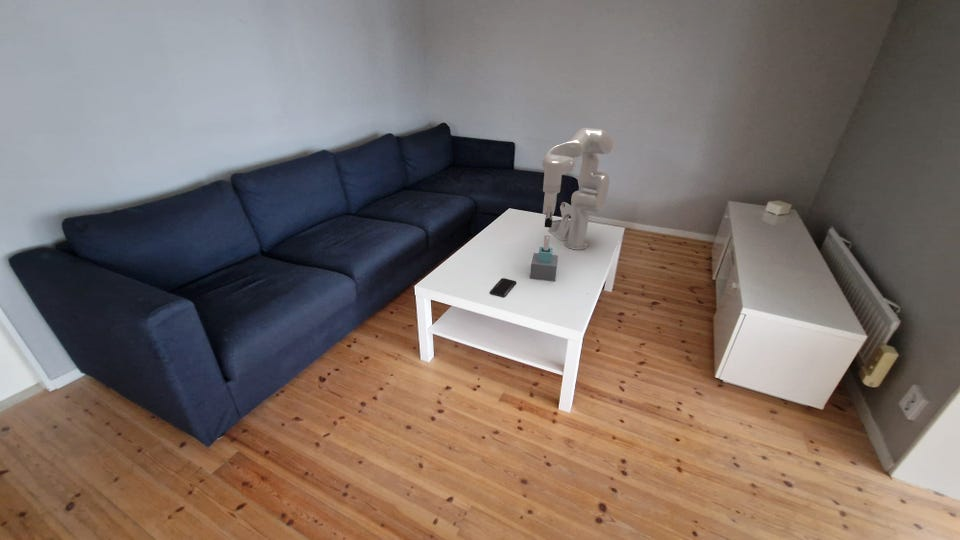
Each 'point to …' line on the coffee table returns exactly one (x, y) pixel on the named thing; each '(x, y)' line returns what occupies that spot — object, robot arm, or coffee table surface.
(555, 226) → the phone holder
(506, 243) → the coffee table surface
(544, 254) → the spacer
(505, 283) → the phone
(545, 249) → the shaft
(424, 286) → the coffee table surface
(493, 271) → the coffee table surface
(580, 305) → the coffee table surface
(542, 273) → the bearing block
